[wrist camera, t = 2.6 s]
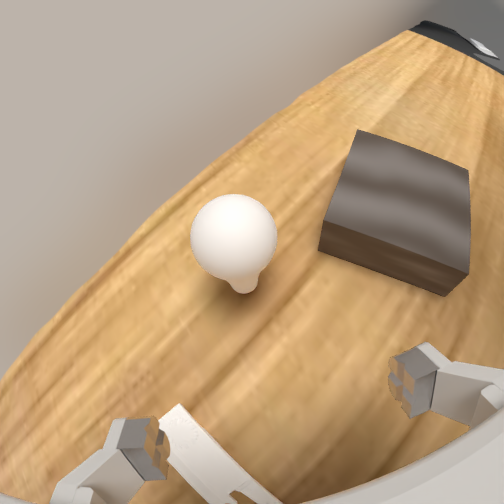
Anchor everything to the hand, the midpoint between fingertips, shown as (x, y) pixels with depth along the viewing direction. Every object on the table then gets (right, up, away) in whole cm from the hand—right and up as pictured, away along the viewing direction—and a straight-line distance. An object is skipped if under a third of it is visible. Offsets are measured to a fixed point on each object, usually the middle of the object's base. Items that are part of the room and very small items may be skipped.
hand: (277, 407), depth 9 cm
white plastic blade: (-3, -14, +11) cm, 18 cm away
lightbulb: (-1, +2, +20) cm, 20 cm away
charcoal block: (+15, +8, +22) cm, 28 cm away
